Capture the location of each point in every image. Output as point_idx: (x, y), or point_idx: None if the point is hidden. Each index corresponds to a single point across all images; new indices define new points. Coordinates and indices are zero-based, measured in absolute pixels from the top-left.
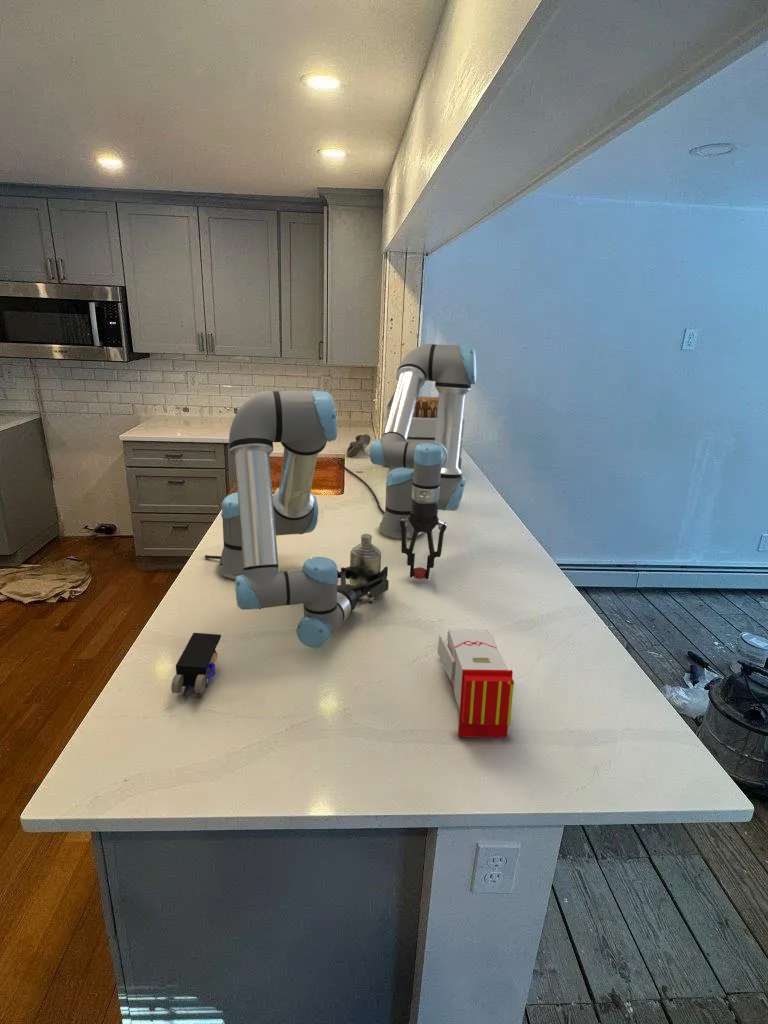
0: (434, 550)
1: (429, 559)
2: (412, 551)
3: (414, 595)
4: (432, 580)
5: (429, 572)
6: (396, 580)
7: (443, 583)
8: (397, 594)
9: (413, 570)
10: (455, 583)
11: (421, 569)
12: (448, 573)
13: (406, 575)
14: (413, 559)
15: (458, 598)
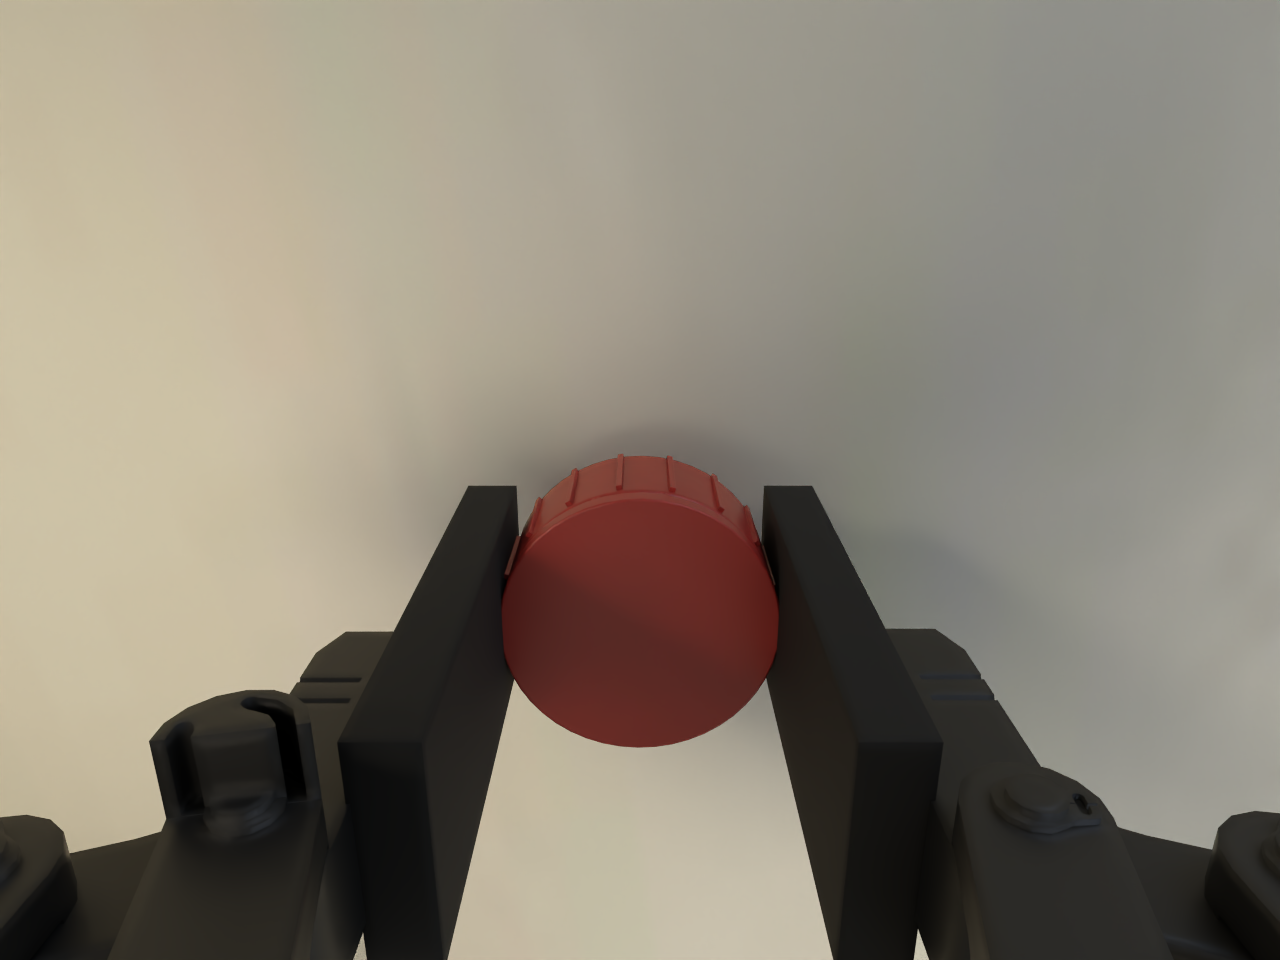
0: (1148, 933)
1: (896, 957)
2: (322, 867)
3: (626, 885)
4: (853, 408)
5: (824, 522)
6: (280, 554)
7: (1036, 468)
8: None
9: (513, 671)
10: (1242, 418)
11: (665, 588)
12: (1172, 22)
13: (388, 336)
14: (455, 911)
15: (1207, 832)
